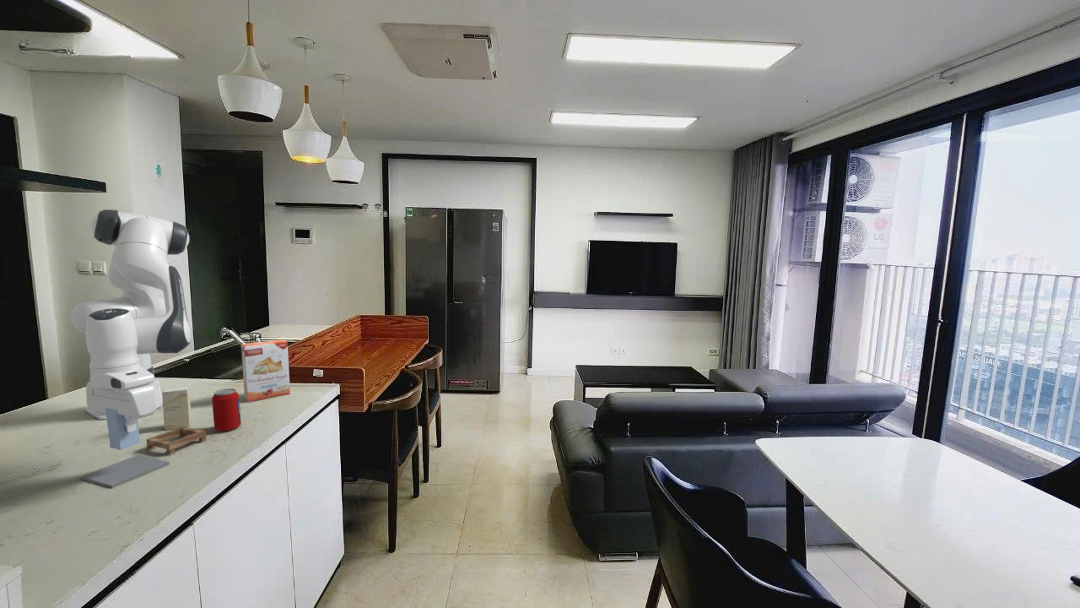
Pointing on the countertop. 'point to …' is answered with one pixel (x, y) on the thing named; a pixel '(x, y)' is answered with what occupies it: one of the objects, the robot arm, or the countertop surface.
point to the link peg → (120, 431)
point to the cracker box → (265, 369)
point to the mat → (124, 470)
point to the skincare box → (176, 407)
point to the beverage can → (226, 410)
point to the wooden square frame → (170, 446)
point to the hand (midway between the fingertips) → (123, 429)
